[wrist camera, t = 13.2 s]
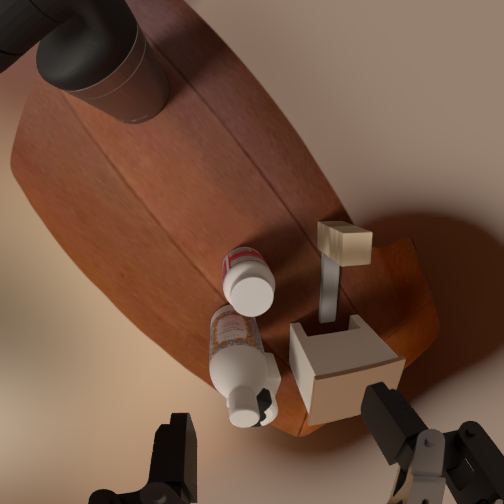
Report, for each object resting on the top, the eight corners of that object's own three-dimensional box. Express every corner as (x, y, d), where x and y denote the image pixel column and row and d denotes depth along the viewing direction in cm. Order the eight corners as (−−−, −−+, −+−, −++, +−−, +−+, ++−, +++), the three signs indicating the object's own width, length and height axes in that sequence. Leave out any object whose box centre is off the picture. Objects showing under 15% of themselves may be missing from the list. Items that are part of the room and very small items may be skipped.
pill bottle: (246, 294, 41) (255, 332, 31) (213, 270, 40) (211, 302, 29) (273, 262, 41) (292, 292, 30) (240, 236, 39) (248, 258, 29)
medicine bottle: (224, 379, 45) (227, 430, 34) (231, 347, 44) (236, 398, 32) (264, 383, 46) (275, 432, 35) (273, 352, 45) (289, 400, 33)
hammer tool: (317, 221, 40) (343, 233, 31) (342, 220, 40) (372, 232, 32) (314, 320, 44) (333, 350, 35) (336, 317, 44) (359, 345, 36)
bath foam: (251, 298, 42) (276, 388, 22) (258, 337, 44) (284, 432, 24) (206, 307, 41) (200, 401, 22) (216, 344, 43) (218, 443, 24)
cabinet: (287, 321, 43) (316, 380, 29) (359, 311, 45) (405, 358, 30) (286, 364, 46) (309, 426, 31) (353, 353, 47) (390, 404, 33)
